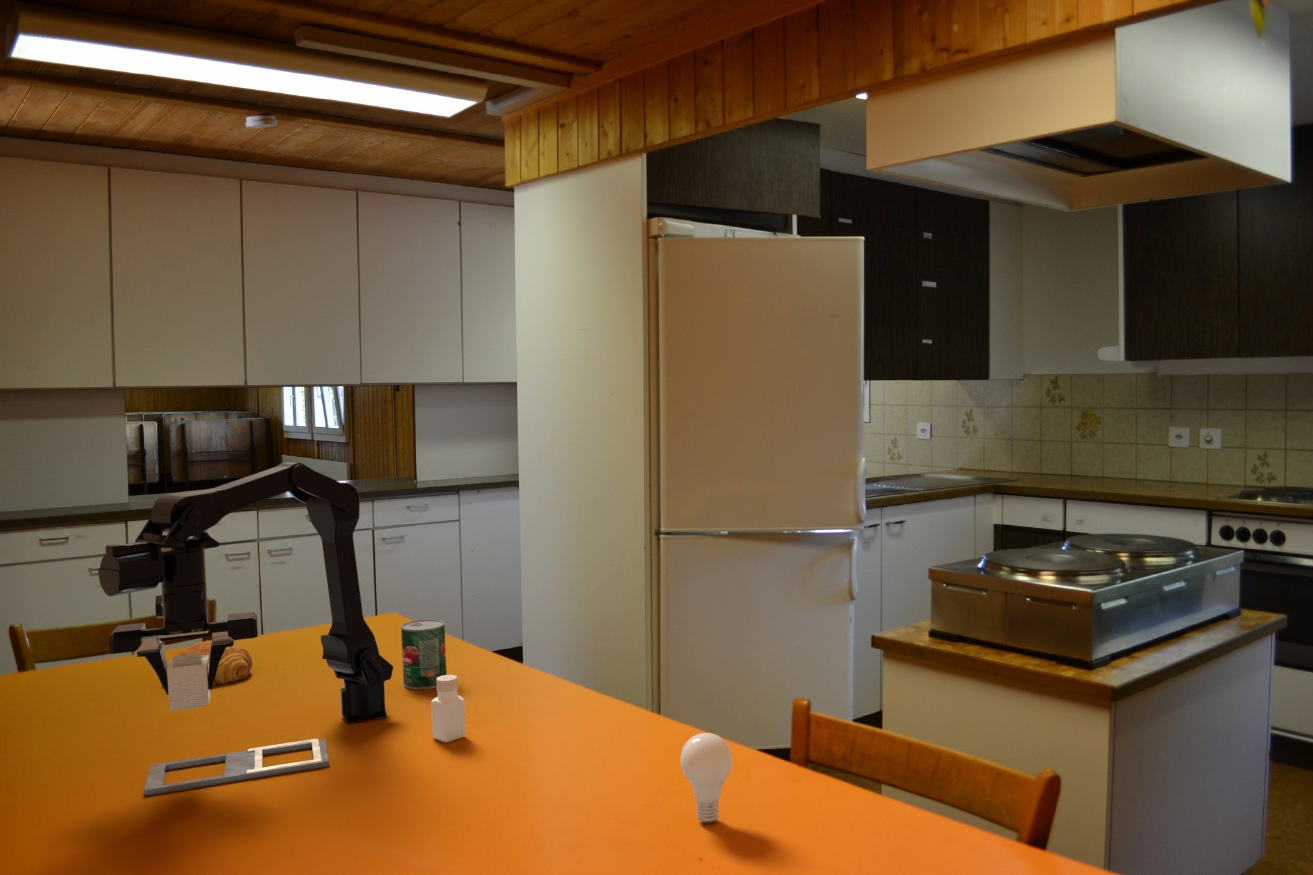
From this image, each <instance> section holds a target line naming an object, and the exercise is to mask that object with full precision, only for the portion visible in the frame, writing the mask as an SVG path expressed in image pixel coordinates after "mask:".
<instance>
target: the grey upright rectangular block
mask: <svg viewBox="0 0 1313 875" xmlns="http://www.w3.org/2000/svg"><path fill="white" fill-rule="evenodd" d="M173 658H174V659H173ZM173 658H171V659H169V662H168V663H167V666H168V667H167V677H168V695H167V696H168V710H169V712H171V711H172V712H173V711H180V710H188V709H194V708H195V709H196V708H203V707H208V706H209V705H210V700H211V690H209V685H208V675H209V658H208V655H205V656H203V653H197V654H188V655H180V656H177V655H175V656H174V657H173ZM209 707H210V706H209Z"/></svg>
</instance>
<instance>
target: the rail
mask: <svg viewBox="0 0 1313 875" xmlns="http://www.w3.org/2000/svg"><path fill="white" fill-rule="evenodd" d="M326 742H327V741H326V738H321V739H319V738H312V739H305V740H299V741H291V742H285V743H278V744H273V745H266V746H265V745H264V746H259V747H254V748H253V747H252V748H248V749H247V750H242V751H241V750H240V751H235V752H228V753H222V754H215V755H208V756H202V757H195V758H194V757H193V758H189V759H182V760H175V761H170V762H169V761H168V762H161V763H155V764H151V765H150V769H149V771H148V774H147V778H146V781H145V785H144V787H143V788H144V789H143V797H147V796H153V795H159V794H167V793H173V792H178V791H180V792H181V791H184V790H191V789H198V788H203V787H210V786H214V785H215V786H216V785H222V784H227V783H236V782H240V781H247V780H252V779H258V778H265V777H266V778H267V777H271V776H278V775H279V776H280V775H285V774H289V773H290V774H291V773H296V772H297V773H298V772H304V771H308V770H314V769H321V768H327V767H330V759H329V754H328V748H327V743H326ZM308 749H309V750H310V749H311V752H312V759H309V760H302V761H296V762H289V763H284V764H283V763H282V764H277V765H272V766H265V767H263V757H264V756H269V755H274V754H275V755H276V754H281V753H282V754H283V753H287V752H295V751H301V750H308ZM223 762H225V763H224V770H223V771H224V772H223V775H217V776H210V777H209V776H208V777H204V778H203V777H202V778H199V779H197V778H196V779H191V780H185V781H178V782H173V783H166V784H164V780H165V776H166V773H167V771H171V770H177V769H184V768H185V769H186V768H191V767H197V766H204V765H210V764H216V763H223Z"/></svg>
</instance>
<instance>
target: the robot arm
mask: <svg viewBox="0 0 1313 875" xmlns="http://www.w3.org/2000/svg"><path fill="white" fill-rule="evenodd" d="M286 493H289V494H290V495H291V496H292V497H293V498H294V499H295V500H298V502H299V501H300V502H301V503H302V504H304V505H305V508H306V511H307V513H308V518H309V522H310V523H311V524H312V526H313V528H314V529H315V530H316V532H317V533H318V535H319V536H320V539H321V546H322V551H323V552H322V554H323V560H324V569H325V575H326V576H325V577H326V582H327V591H328V598H329V606H330V614H331V627H330V628H329V631H328V633H327V634H322V635H321V636H320V642H321V645H322V657H321V658H322V659H321V660H325V661H326V665H327V666H328V667H329V668H330V669H332V670H333V672H334V675H335V677H336V679H338V680H340V679H341V680H343V687H342V688H340V691H339V692H340V710H341V711H340V712H341V716H342V717H343V718H345V721H346V724H350V723H351V724H352V723H357V722H364V721H365V722H366V721H370V720H372V721H373V720H378V719H385V718H387V717H388V713H387V710H386V700H385V699H386V696H385V694H386V692H385V682H386V681H389V680H391V679H392V676H393V671H394V666H393V665H392V664H391V663H390V662H389V661H388V660H387V659H385V658H384V657H383V656H382V655H380V650H379V648H378V644H377V640H376V637H375V634H374V633H373V631H372V629H371V628H370V626H369V625H368V624H367V621H366V620H365V618H364V614H363V605H362V597H361V596H362V595H361V589H360V582H359V581H360V580H359V572H358V565H357V558H356V550H355V549H356V548H355V541H354V532H355V530H356V528H357V524H358V522H359V520H360V510H361V509H360V508H361V506H360V505H361V504H360V503H361V500H360V494H359V491H358V488H356V487H355V486H354V485H353V484H351V483H348V482H342V481H341V482H339V481H338V480H335V479H333V478H332V477H329V476H327V475H325V474H322V473H320V472H318V471H316V470H314V469H312V468H310V467H309V466H308V465H306V464H304V463H301V462H288V461H286V462H282V463H280V464H278V465H277V466H273V467H272V468H268V469H266V470H262V471H259V472H257V473H254V474H251V475H248V476H244V477H243V478H240V479H239V478H238V479H236V480H233V481H231V482H230V481H229V482H228V483H224V484H222V485H219V486H216V487H214V488H207V489H200V490H198V489H197V490H188V491H181V492H175V493H168V494H164V495H162V496H159V497H158V498H157V499H156V500H155V501H154V504H153V506H152V507H151V511H150V512H151V513H150V517H149V518H148V519H147V521H146V523H145V525H144V526H143V528H142V529H141V531H140V532H139V534H138V535H137V537H136V538H135V540H134V542H130V543H122V544H120V543H115V544H114V543H113V544H107V545H106V546H105V554H104V555H103V556H102V558H101V561H100V565H99V568H98V569H97V570H98V580H99V584H100V587H101V588H102V591H103V592H104V594H106V595H107V596H108V597H115V596H120V595H121V596H123V595H127V594H133V593H136V592H137V593H138V592H141V591H148V590H154V589H156V588H157V587H158V585H159V584H161V594H159V595H155V605H154V606H155V610H154V611H155V618H157V619H163V627H154V628H153V627H152V628H147V627H146V622H140V623H139V622H138V623H131V624H129V623H128V624H120V625H117V626H116V627H115V628H114V629H113V630H112V631H111V634H110V635H109V654H113V655H115V654H116V655H117V654H123V653H125V654H126V653H133V652H136V651H137V652H136V656H137V657H138V658H142V657H143V658H145V659H146V661H147V662H148V664H150V666H151V668H152V670H154V672H155V673H156V675H157V677H158V680H159V682H160V684H161V686H162V688H163V691H165V694H166V696H169V695H168V677H167V666H168V663H167V657H166V652H165V650H166V649H165V641H174V640H183V639H192V638H193V639H194V638H201V637H209V636H211V637H212V639H211V640H212V644H211V653H210V664H209V675H208V685H209V690H210V691H211V690H213V687H214V686H213V683H214V679H215V676H216V672H217V668H218V665H219V662H220V660H221V658H222V656H223V653H224V651H225V649H226V647H231V646H233V645H234V644H235V641H238V640H239V641H241V640H249V639H250V640H251V639H255V638H258V637H259V626H258V625H259V624H258V614H256V613H255V612H254V611H246V612H236V613H228V614H227V620H221V621H212V622H209V621H210V620H211V616H210V615H211V614H210V601H209V600H208V592H207V589H208V588H207V576H206V575H207V570H206V553H205V550H207V549H208V550H209V549H214V548H218V547H220V544H221V543H220V541H217V540H216V539H215V538H213V537H212V536H211V535H210V534H209V533H208V532H207V530H209V529H211V528H212V527H214V526H216V525H218V523H220V522H221V521H222V520H223V519H224V518H225V517H226V516H228V515H230V514H231V513H234V512H237V511H239V510H242V509H244V508H247V507H251V506H253V505H256V504H258V503H261V502H264V501H266V500H268V499H272V498H275V497H277V496H279V495H283V494H286Z"/></svg>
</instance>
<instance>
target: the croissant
mask: <svg viewBox="0 0 1313 875" xmlns="http://www.w3.org/2000/svg"><path fill="white" fill-rule="evenodd" d="M211 644H212V639H207V640H205V641H200V642H197V643H195V644H192V645H191V646H189V647H186V648H185V649H183V650H181V652H179V653H178V654H177V655H176V656H180V655H188V654H197V653H203V656H205V655H208V658H209V664H210V653H211ZM172 659H174V657H172ZM252 666H253V658H252V656H251V654H250V652H248V651H247V649H246V648H243V647H241V646H239V645H238V644H236V643H234V645H233V646H231V647H226V649H225V651H224V653H223V656H222V658H221V660H220V662H219V665H218V668H217V672H216V676H215V679H214V683H213V687H216V686H217V685H225V684H227V683H228V684H229V683H232V682H236V681H239V680H243V679H245V678H247V677H248V676H249V674H251V673H250V672H251V671H252V668H253V667H252ZM167 667H168V665H167Z"/></svg>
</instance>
